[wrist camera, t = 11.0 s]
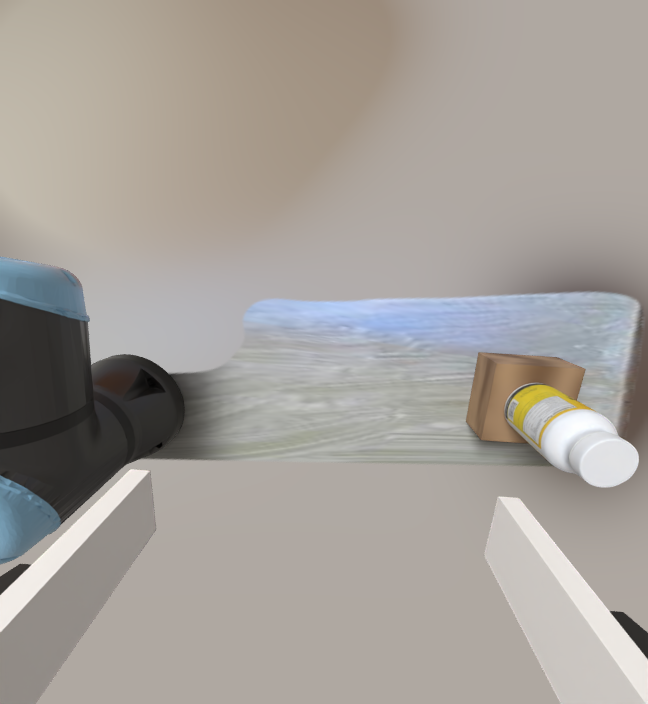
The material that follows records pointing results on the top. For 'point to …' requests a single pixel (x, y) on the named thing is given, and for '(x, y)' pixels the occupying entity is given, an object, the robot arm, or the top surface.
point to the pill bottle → (570, 435)
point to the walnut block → (506, 376)
